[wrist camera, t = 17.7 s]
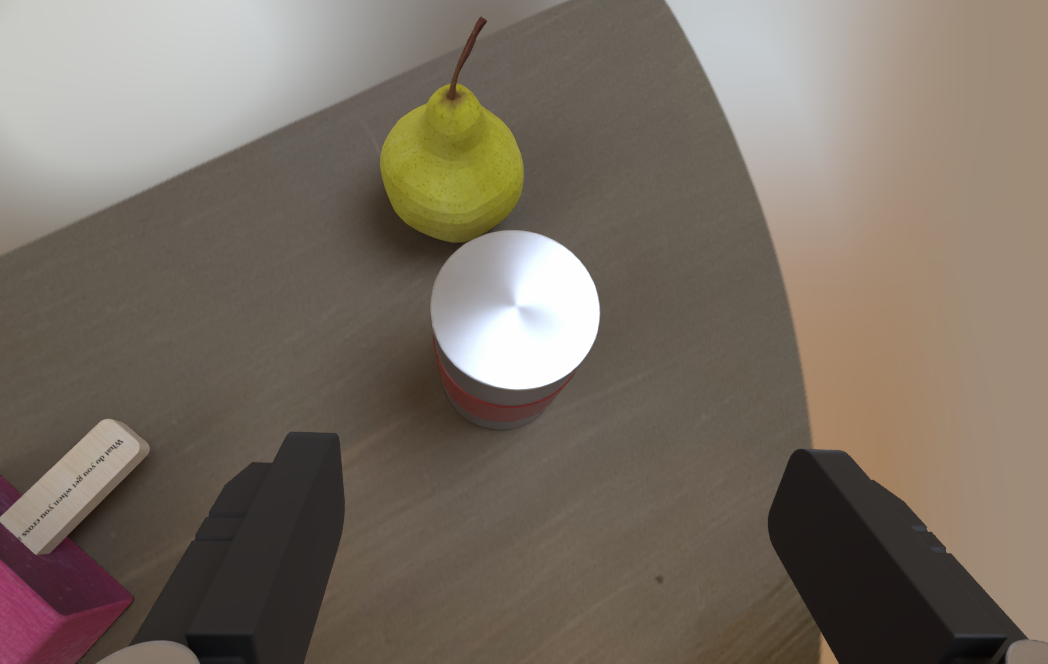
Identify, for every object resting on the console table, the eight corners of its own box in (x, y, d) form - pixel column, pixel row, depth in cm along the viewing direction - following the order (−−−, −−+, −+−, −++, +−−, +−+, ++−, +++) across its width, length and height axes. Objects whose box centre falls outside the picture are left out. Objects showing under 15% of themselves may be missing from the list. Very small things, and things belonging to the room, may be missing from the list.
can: (577, 351, 30) (630, 278, 20) (523, 453, 28) (552, 425, 18) (478, 296, 30) (484, 199, 21) (417, 393, 28) (393, 336, 19)
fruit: (433, 286, 30) (413, 151, 19) (368, 190, 31) (312, 9, 20) (537, 225, 32) (578, 68, 20) (472, 137, 33) (474, -58, 22)
